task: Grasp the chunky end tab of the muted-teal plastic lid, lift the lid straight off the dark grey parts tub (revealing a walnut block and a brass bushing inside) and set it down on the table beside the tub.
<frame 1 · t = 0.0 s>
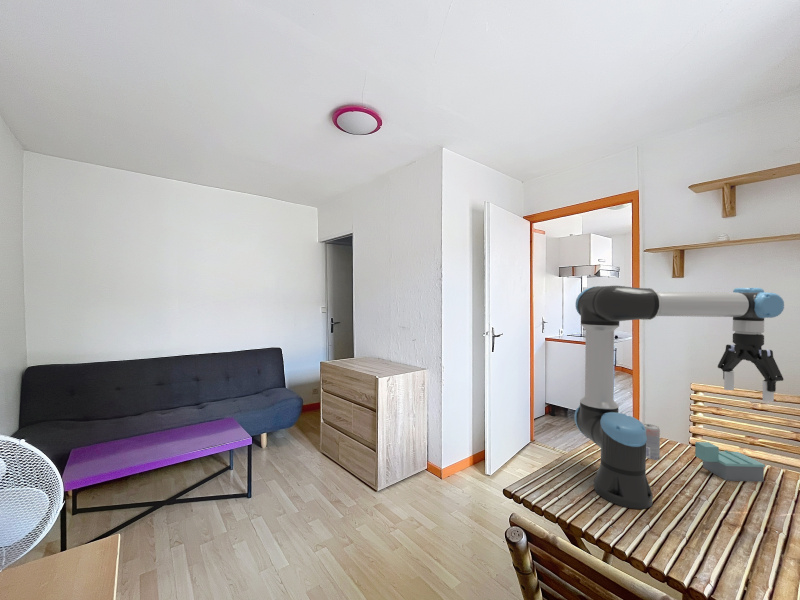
hand: (747, 395, 116), 28 cm above the table, fingers open, 13 cm apart
lid: (732, 459, 117), point 5 cm above the table, touching tub
brass bushing: (726, 475, 115), point 1 cm above the table, touching tub
energy drink: (650, 458, 129), on the table
tub: (731, 475, 117), on the table
walnut block: (736, 472, 118), point 1 cm above the table, touching tub
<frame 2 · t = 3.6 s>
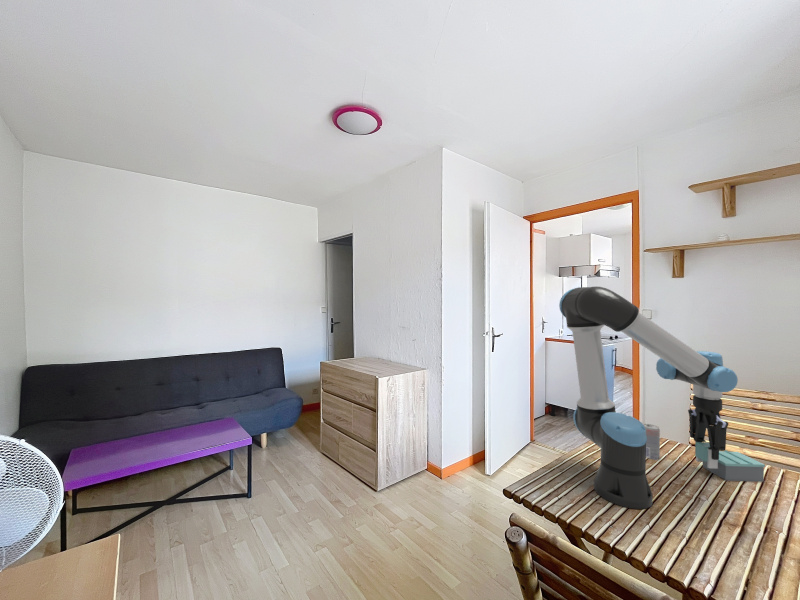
hand: (706, 464, 117), 4 cm above the table, fingers closed on lid, 4 cm apart
lid: (732, 459, 117), point 6 cm above the table, touching gripper, tub
everything else where it was.
when the fingers open (1 cm above the table, at t = 10.4 s): lid drops 2 cm, on the table.
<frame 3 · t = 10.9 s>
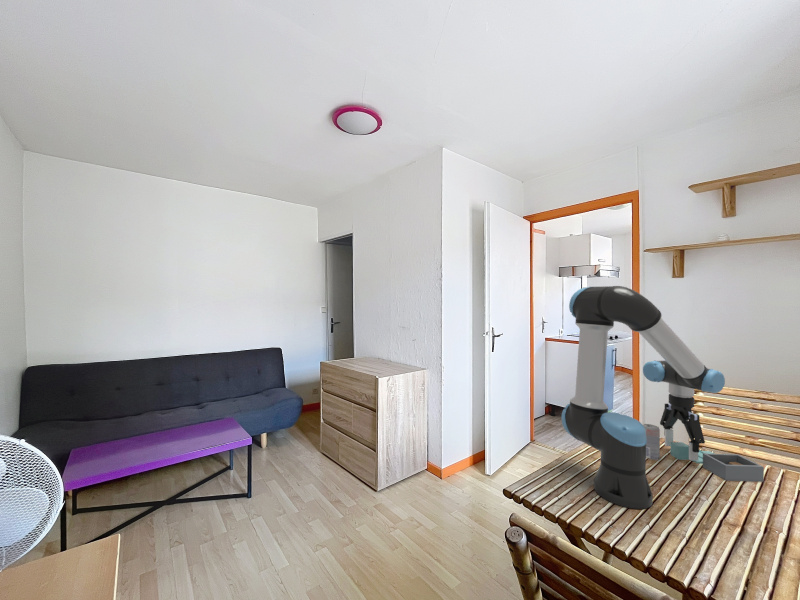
hand: (680, 452, 129), 2 cm above the table, fingers open, 11 cm apart
lid: (703, 458, 129), on the table
everything else where it was.
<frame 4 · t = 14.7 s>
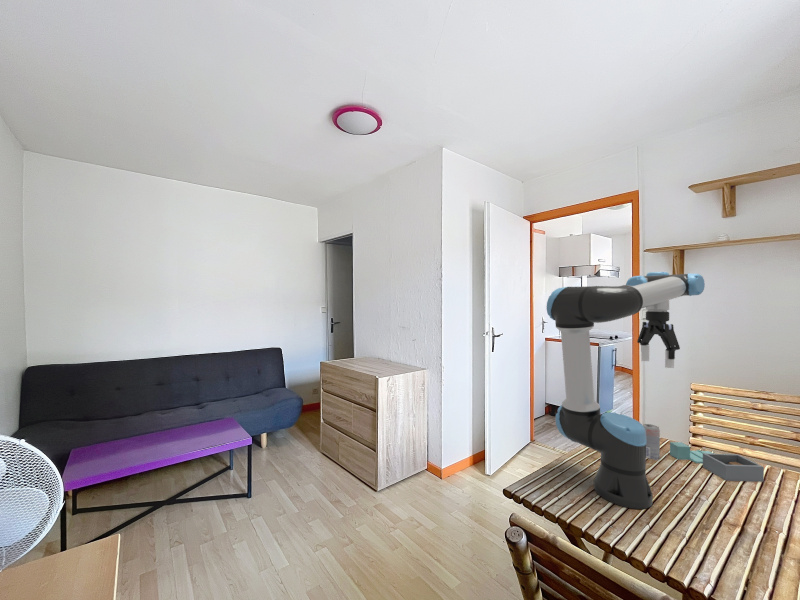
hand: (656, 364, 135), 35 cm above the table, fingers open, 13 cm apart
nothing on the table moved.
at the end: lid inside the target area (1.3 cm from its centre), on the table; lid touching table; the gripper is holding nothing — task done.
